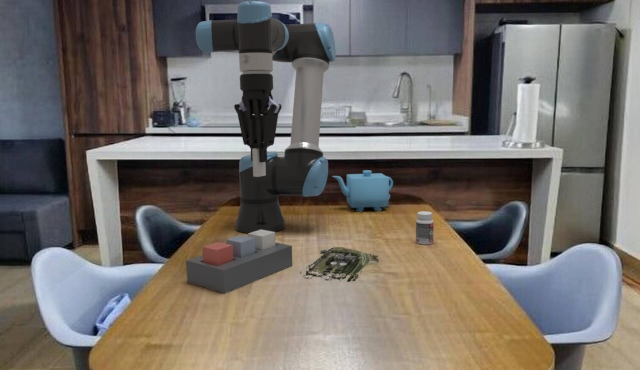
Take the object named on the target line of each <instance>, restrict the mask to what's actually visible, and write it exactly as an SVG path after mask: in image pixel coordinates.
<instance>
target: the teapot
mask: <svg viewBox="0 0 640 370" xmlns="http://www.w3.org/2000/svg"><path fill="white" fill-rule="evenodd" d="M372 172H373V171H372V170H368V169H366V170H362V173H349V174H348V173H347V174H346V184H345V181H344V180H343V178H342V177H341V176H339V175H332V176H331V177H332V178H334V179H335V180H336V181H338V184H339V187H340V191H341V193H342V194H343V195H344V197H346V202H347V204H348V205H349V206H350V208H353V209H355V212H357V213H361V212H362V211H363V212H364V210H365V208H373V210H374V212H383V209H382V208H385V207H387V208H388V207H389V206H390V205H389V204H390V203H389V202H390V201H389V200H390V199H391V194H390V190H391V189H392V188H393V185H394V181H393V179H392V178H391V177H390V176H387V175H385V174H383V173H379V172H378V173H372Z"/></svg>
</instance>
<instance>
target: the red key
mask: <svg viewBox="0 0 640 370" xmlns="http://www.w3.org/2000/svg"><path fill="white" fill-rule="evenodd" d="M202 255H203V262H204V263H208V264H211V265H215V266H219V265H222V264H225V263H228V262H231V261H233V245H230V244H226V243H225V242H220V241H217V242H213V243H211V244H207V245H203V246H202Z"/></svg>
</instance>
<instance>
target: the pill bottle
mask: <svg viewBox="0 0 640 370" xmlns="http://www.w3.org/2000/svg"><path fill="white" fill-rule="evenodd" d="M416 217H417V219H416V220H415V243H416V244H418V245H426V246H427V245H432V244H433V243H434V230H435V229H434V226H435V225H434V223H435V221H434V220H433V213H432V212H431V211H418V212H417V215H416Z"/></svg>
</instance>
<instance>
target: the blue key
mask: <svg viewBox="0 0 640 370" xmlns="http://www.w3.org/2000/svg"><path fill="white" fill-rule="evenodd" d="M225 241H226V243H225V244H230V245H233V256H236V257H240V258H242V257H245V256H248V255H251V254H254V253H255V238H252V237H248V235H243V234H242V235H241V234H240V235H237V236H233V237H230V238H227V239H226V240H225Z"/></svg>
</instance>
